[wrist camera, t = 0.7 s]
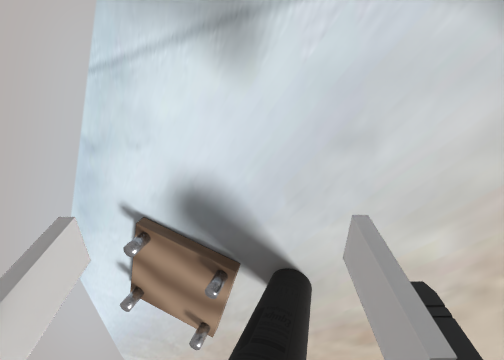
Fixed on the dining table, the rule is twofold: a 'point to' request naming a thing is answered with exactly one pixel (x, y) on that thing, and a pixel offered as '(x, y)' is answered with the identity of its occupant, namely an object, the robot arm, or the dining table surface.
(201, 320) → the peg board
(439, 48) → the dining table surface
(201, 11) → the dining table surface
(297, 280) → the drinking cup
